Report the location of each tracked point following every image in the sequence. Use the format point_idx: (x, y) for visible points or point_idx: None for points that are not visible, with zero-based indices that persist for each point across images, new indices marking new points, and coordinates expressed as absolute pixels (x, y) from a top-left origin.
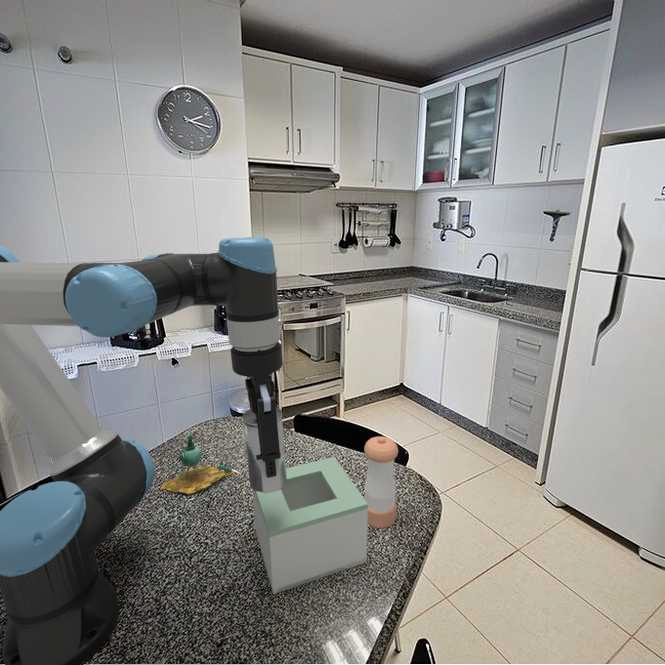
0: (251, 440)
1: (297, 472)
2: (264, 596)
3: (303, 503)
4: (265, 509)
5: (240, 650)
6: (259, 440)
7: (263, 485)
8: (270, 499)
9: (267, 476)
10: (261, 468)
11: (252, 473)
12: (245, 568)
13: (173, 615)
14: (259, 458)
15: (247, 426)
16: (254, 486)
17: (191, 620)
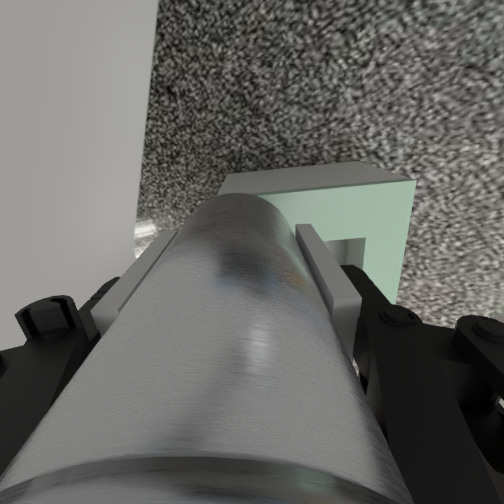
0: (99, 340)
1: (375, 280)
2: (227, 161)
3: (355, 251)
4: (283, 200)
5: (157, 120)
6: (9, 414)
7: (152, 244)
8: (311, 214)
9: (108, 282)
10: (123, 276)
11: (189, 222)
12: (283, 137)
13: (229, 4)
14: (31, 319)
15: (28, 465)
16: (196, 209)
17: (213, 40)
